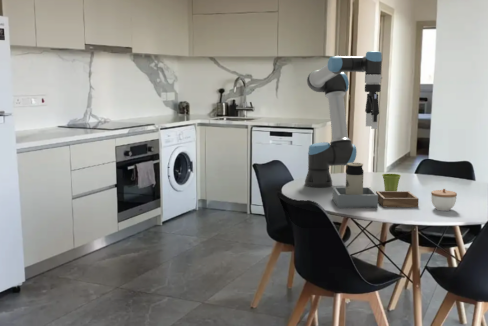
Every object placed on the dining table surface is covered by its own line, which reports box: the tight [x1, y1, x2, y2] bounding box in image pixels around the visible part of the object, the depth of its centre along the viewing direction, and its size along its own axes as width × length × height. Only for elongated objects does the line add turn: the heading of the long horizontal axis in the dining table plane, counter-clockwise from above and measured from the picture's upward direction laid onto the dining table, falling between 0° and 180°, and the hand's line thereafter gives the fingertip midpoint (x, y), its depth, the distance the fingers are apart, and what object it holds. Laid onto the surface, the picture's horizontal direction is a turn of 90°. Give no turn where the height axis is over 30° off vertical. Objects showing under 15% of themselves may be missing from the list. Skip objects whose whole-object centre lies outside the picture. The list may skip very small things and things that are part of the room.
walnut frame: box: [375, 190, 420, 208], centre depth 254 cm, size 16×16×4 cm
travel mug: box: [345, 162, 364, 195], centre depth 252 cm, size 8×8×18 cm
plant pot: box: [381, 173, 402, 191], centre depth 280 cm, size 9×9×9 cm
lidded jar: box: [430, 188, 458, 212], centre depth 241 cm, size 11×11×9 cm
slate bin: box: [332, 186, 379, 209], centre depth 253 cm, size 18×18×6 cm
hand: (371, 127), depth 263 cm, fingers open, 13 cm apart
